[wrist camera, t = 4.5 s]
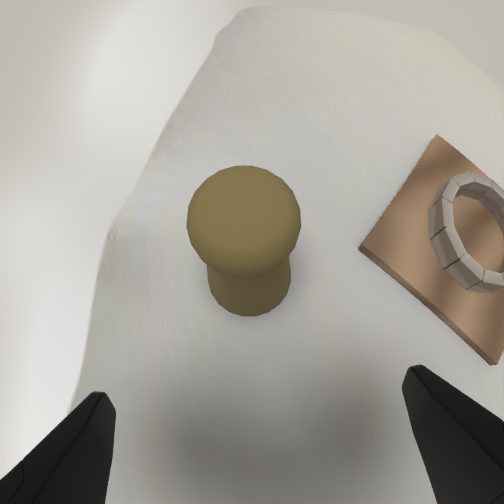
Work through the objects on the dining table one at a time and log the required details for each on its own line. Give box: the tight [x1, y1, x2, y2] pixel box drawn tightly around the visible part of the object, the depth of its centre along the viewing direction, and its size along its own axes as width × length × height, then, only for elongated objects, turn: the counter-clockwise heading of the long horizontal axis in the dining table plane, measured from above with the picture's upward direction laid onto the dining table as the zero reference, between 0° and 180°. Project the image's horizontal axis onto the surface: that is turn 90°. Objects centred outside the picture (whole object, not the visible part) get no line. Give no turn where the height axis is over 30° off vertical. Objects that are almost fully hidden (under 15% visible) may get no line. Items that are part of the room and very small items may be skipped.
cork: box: [187, 166, 301, 316], centre depth 18 cm, size 6×6×11 cm
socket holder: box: [359, 134, 504, 365], centre depth 22 cm, size 16×16×4 cm
